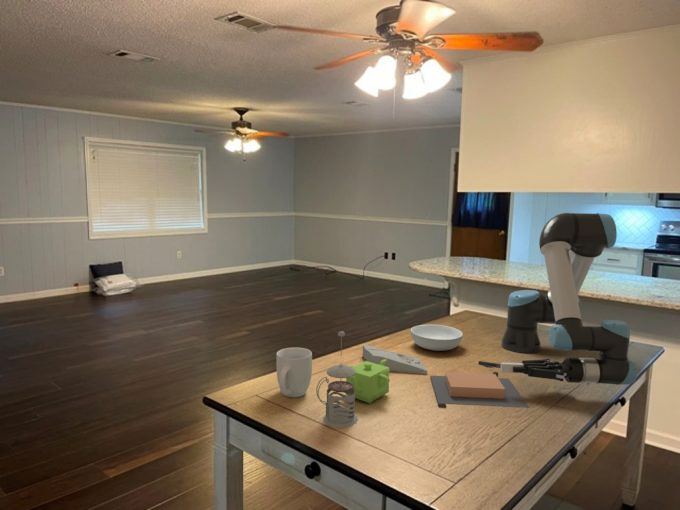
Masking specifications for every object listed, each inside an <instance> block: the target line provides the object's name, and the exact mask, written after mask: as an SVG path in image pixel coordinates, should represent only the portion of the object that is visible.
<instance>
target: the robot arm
mask: <svg viewBox="0 0 680 510" xmlns="http://www.w3.org/2000/svg"><path fill="white" fill-rule="evenodd" d="M617 234H618V233H617V225H616V222H615V219H614V218H613V217H612V215H610V214H608V213H599V212H596V213H589V212H588V213H587V212H586V213H583V212H582V213H581V212H563V213H562V212H561V213H559V214H556V215H554V216H553V217H551V218H550V219H549V220H548V221H547V222H546V223H545V224H544V226H543V228H542V230H541V233H540V236H539V241H538V243H539V251H540V254H542V255H543V256H544V262H545V268H546V273H547V280H548V285H549V290H548V291H547V294H541V293H540V292H539V291H537V290H534V289H532V290H531V289H522V290H515V291H513V292H511V293H510V294H509V296H508V301H507V315H506V316H507V317H506V318H507V319H506V328H505V330H504V333H503V335H502V338H501V347H502V348H503V349H506V350H508V351H512V352H517V353H522V354H523V353H524V354H525V353H526V354H529V353H531V354H532V353H533V354H534V353H537V352H540V351H541V350H542V349H541V347H542V343H541V340H540V337H539V333H538V324H547V325H548V324H550V325H552V326H551V327H550V328H549V331H548V332H549V334H548V336H549V337H548V340H549V343H550V345H551V347H552V348H554V349H555V350H560V351H567V352H569V351H571V352H572V351H573V352H574V351H575V352H576V351H577V352H579V351H580V352H582V351H583V352H584V351H585V352H599V357H597V358H596V357H595V358H593V357H579V358H578V357H565V358H564V359H563V361H562V362H560V361H557V360H556V361H554V360H553V361H551V358H543V359H528V360H526V359H525V360H524V359H523V360H521V361H522V362H500V364H501V368H499V369H500V372H501V373H502V374H503V373H507V374H524V375H527V377H530V378H538V379H539V378H540V379H548V380H554V381H555V380H556V381H559V382H564V380H565V382H567V383H573V384H574V383H576V384H580V383H582V384H587V385H590V384H602V385H603V384H606V385H616V386H619V385H631V384H634V382H635V381H636V379H637V376H638V375H637V374H638V372H637V366H636V364H635V363H634V362H633V361H632V360H631V359H629V357H628V354H629V353H628V352H629V348H630V347H629V346H630V339H631V338H630V337H631V335H630V333H631V330H630V327H631V326H630V324H628V323H627V322H626V321H623V320H620V319H619V320H618V319H604V320H602V321H601V324H600V326H595V325H593V326H591V325H589V326H588V325H583V320H582V316H581V314H582V312H581V311H582V301H581V299H580V298H579V294H580V291H581V289H582V286H583V284H584V281H585V280H586V278H587V275H588V273H589V270H590V269H591V266H592V264H593V261H594V259H595V258H598V257H599V256H601V255H602V253H603V251H604V249H611V248H613V247H614V246H615V245H616V242H617V236H618V235H617Z"/></svg>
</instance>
